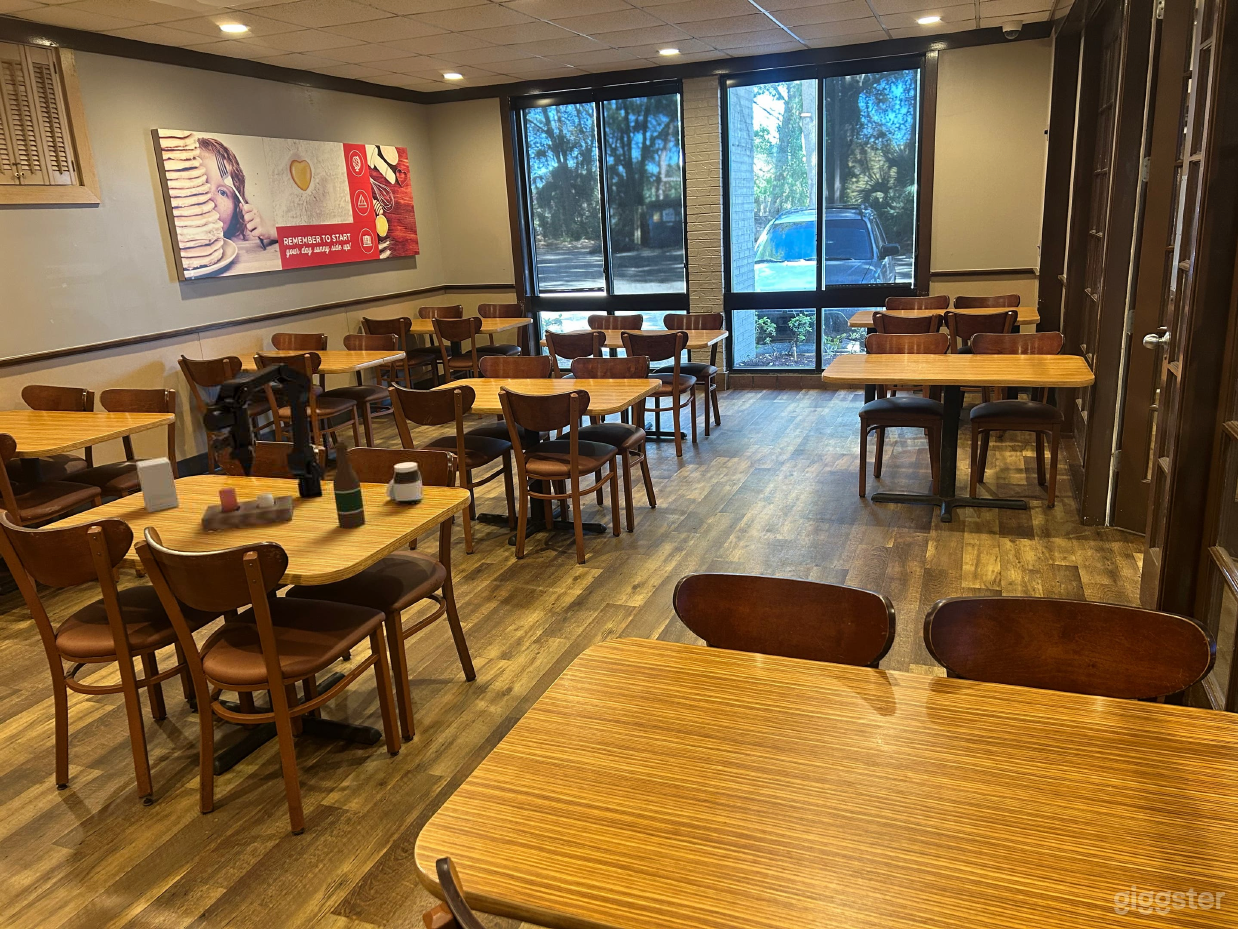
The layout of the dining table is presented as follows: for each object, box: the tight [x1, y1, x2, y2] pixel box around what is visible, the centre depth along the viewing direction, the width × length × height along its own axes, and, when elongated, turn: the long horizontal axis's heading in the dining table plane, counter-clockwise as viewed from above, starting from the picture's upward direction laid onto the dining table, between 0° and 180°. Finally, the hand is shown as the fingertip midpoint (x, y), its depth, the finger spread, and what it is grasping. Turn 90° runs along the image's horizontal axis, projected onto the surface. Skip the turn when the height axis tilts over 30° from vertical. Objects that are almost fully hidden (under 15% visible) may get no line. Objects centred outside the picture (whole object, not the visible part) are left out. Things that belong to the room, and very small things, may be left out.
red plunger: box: [218, 487, 238, 512], centre depth 261 cm, size 4×4×6 cm
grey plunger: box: [256, 493, 274, 508], centre depth 265 cm, size 4×4×6 cm
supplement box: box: [135, 456, 180, 513], centre depth 281 cm, size 9×9×15 cm
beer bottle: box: [332, 441, 366, 529], centre depth 251 cm, size 8×8×24 cm
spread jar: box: [385, 461, 424, 505], centre depth 273 cm, size 12×11×12 cm
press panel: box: [200, 494, 295, 533], centre depth 264 cm, size 24×14×4 cm, turn 107°
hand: (247, 476), depth 261 cm, fingers closed
